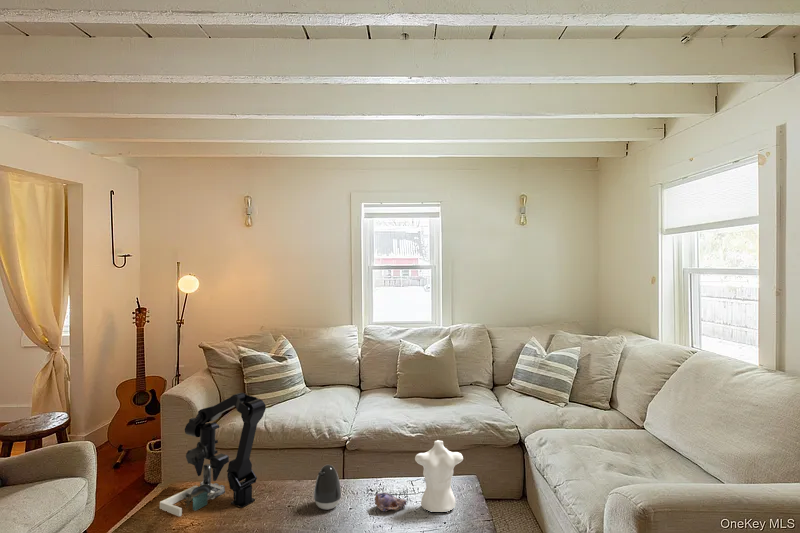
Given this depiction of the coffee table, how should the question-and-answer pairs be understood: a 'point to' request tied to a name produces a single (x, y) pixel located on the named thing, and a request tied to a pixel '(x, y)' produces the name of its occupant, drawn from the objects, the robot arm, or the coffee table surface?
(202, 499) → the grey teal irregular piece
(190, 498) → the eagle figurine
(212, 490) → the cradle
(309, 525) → the coffee table surface
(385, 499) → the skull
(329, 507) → the grey rounded egg shape
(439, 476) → the torso sculpture
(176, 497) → the frame
